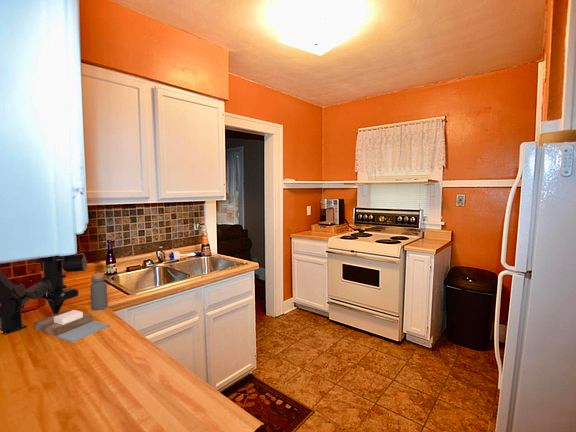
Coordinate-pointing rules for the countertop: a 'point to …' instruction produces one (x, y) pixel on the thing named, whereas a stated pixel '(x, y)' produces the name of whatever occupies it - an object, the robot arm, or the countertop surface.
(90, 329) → the mat
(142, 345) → the countertop surface
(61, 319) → the pale pink rectangular block
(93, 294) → the bottle
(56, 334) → the step
